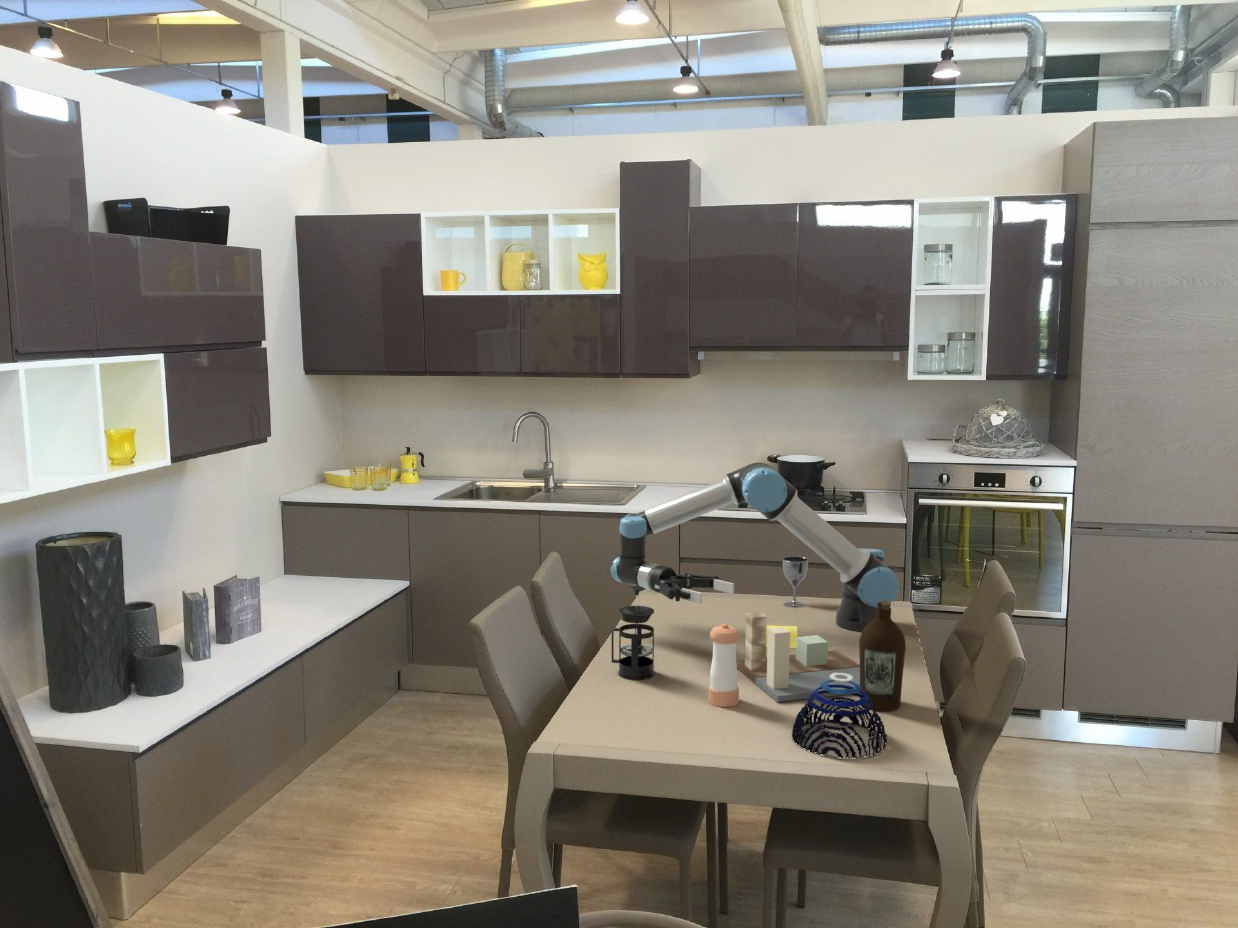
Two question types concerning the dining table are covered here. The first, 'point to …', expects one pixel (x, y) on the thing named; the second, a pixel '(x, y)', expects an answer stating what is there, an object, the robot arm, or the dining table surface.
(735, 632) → the pepper shaker
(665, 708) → the dining table surface
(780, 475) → the robot arm
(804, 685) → the gray board with post
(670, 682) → the dining table surface
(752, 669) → the wooden base with post
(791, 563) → the wine glass
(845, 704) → the blue ringed dome
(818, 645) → the sage block
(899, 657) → the olive oil
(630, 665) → the french press
